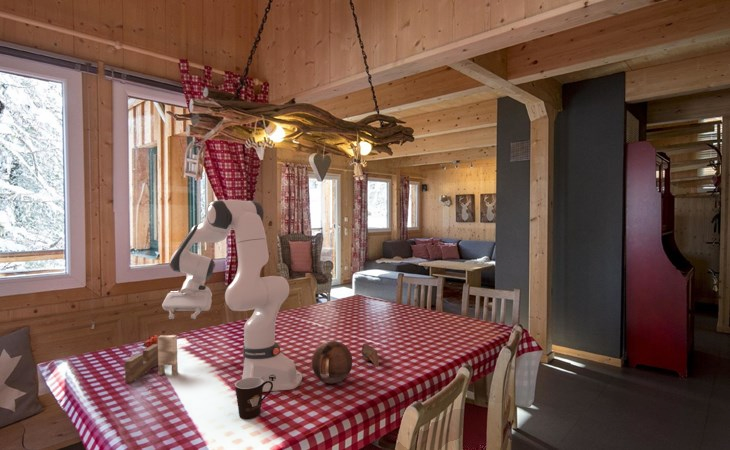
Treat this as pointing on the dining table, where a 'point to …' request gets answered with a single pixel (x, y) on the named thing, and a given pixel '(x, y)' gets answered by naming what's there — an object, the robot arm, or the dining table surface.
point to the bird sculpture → (370, 354)
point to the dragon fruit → (151, 341)
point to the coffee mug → (250, 396)
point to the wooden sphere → (332, 362)
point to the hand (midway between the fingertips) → (181, 318)
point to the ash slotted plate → (167, 353)
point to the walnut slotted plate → (141, 363)
